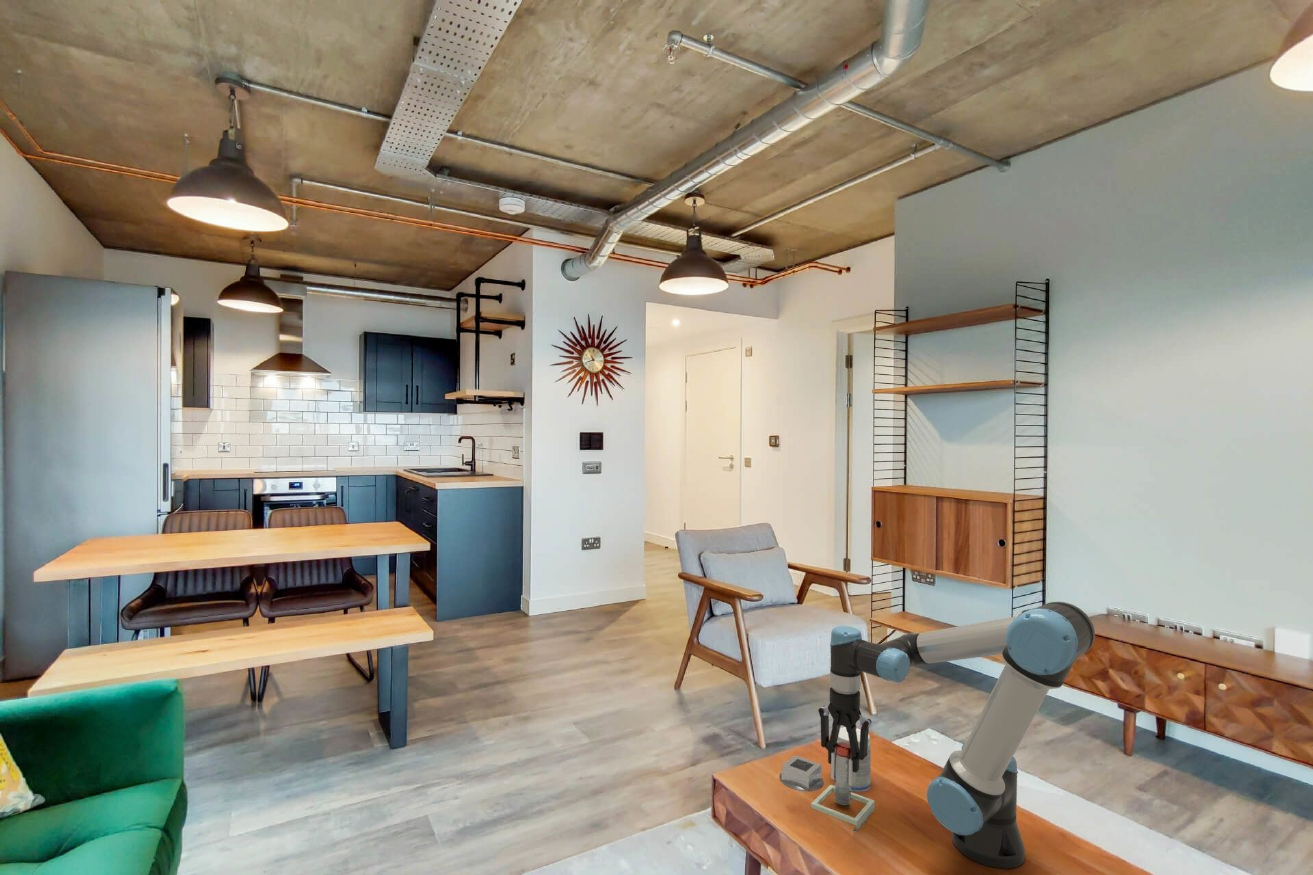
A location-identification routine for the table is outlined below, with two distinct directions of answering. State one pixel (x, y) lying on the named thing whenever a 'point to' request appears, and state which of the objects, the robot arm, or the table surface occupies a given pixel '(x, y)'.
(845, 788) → the red capped bottle
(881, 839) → the table surface
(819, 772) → the grey socket fixture
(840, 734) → the supplement tub
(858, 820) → the tray
